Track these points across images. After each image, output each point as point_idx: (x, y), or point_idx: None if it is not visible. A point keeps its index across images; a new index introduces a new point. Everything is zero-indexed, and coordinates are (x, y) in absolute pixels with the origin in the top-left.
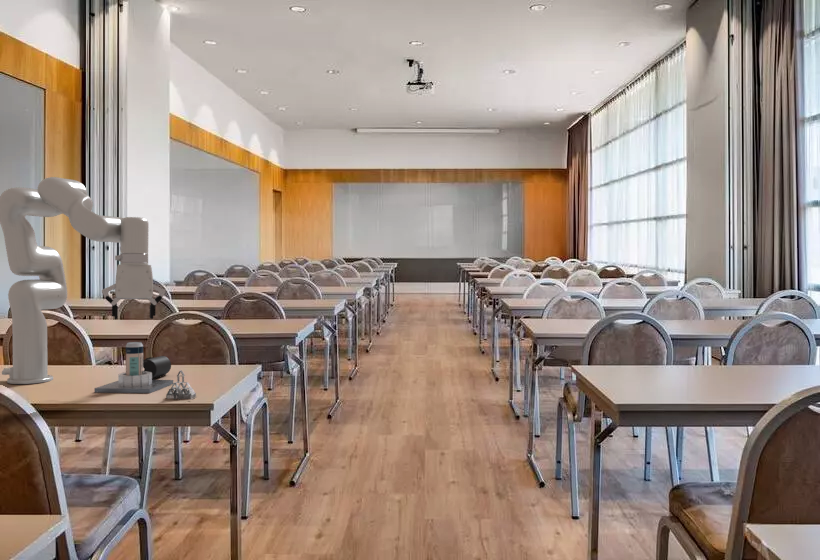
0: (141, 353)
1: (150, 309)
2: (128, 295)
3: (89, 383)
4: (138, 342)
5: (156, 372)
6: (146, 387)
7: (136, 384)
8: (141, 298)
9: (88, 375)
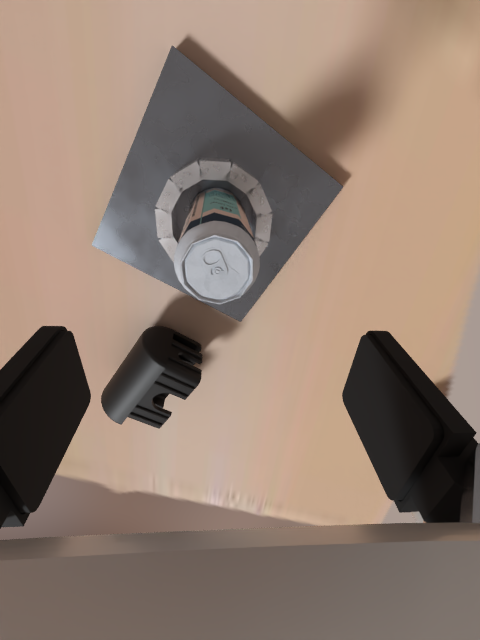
0: (186, 227)
1: (26, 406)
2: (426, 629)
3: (310, 345)
4: (195, 295)
5: (144, 331)
6: (183, 102)
7: (215, 158)
8: (63, 542)
9: (288, 437)
